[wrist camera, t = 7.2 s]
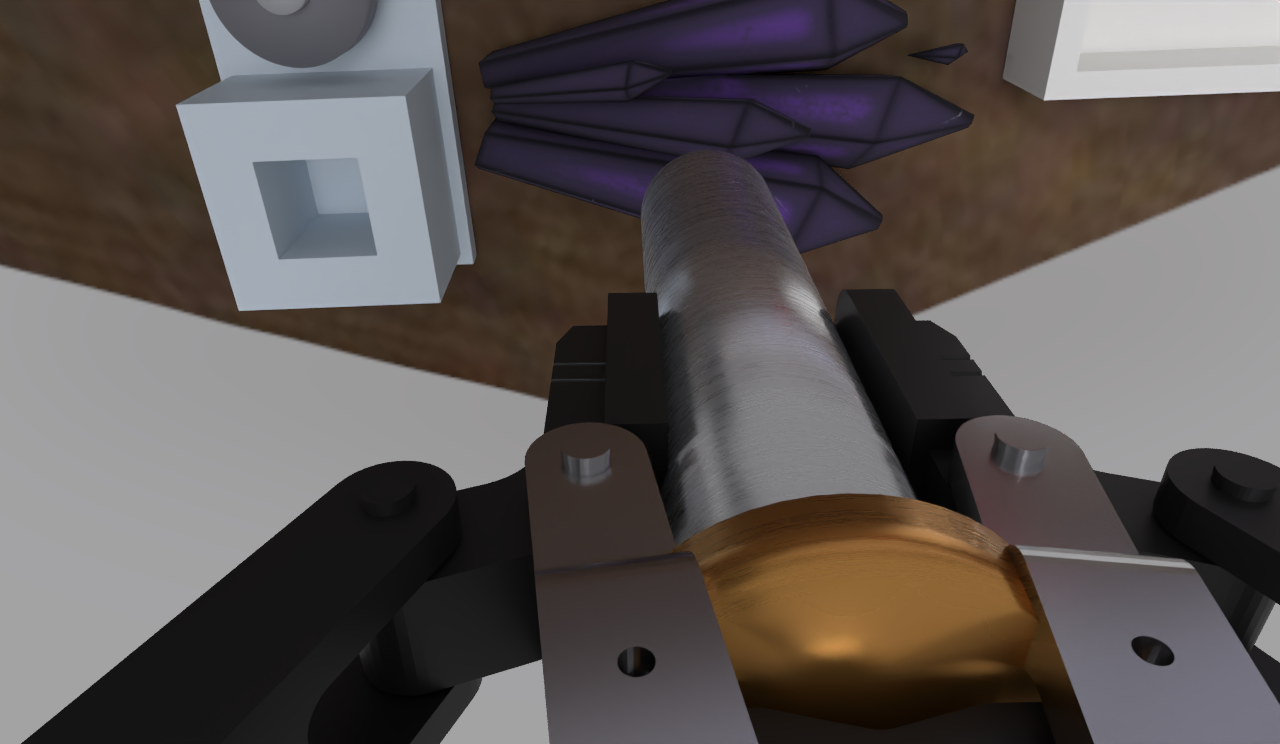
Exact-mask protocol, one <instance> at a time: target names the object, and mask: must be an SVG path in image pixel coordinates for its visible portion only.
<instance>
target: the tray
mask: <svg viewBox="0 0 1280 744" xmlns="http://www.w3.org/2000/svg"><path fill="white" fill-rule="evenodd" d="M1003 79H1004V80H1006V81H1008V82H1010V83H1012V84H1014V85H1016V86H1018V87H1020V88H1021V89H1023V90H1025V91H1027V92H1029V93H1031V94H1033V95H1035V96H1037V97H1038V98H1040V99H1042V100H1065V99H1091V98H1116V97H1142V96H1167V95H1193V94H1218V93H1244V92H1270V91H1280V0H1016V5H1015V11H1014V16H1013V22H1012V28H1011V33H1010V39H1009V44H1008V50H1007V56H1006V61H1005V67H1004V72H1003Z"/></svg>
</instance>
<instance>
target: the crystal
mask: <svg viewBox="0 0 1280 744" xmlns="http://www.w3.org/2000/svg"><path fill="white" fill-rule="evenodd" d="M907 25H908V19H907V13H906V11H904V10H903V9H901V8H899V7H898V6H896V5H895V4H893V3H891V2H890V1H888V0H668V1H665V2H661V3H658V4H655V5H651V6H648V7H644V8H641V9H637V10H634V11H630V12H627V13H624V14H620V15H617V16H613V17H610V18H606V19H603V20H599V21H596V22H593V23H589V24H586V25H582V26H579V27H575V28H572V29H569V30H565V31H562V32H558V33H555V34H551V35H548V36H544V37H541V38H538V39H534V40H531V41H527V42H524V43H520V44H517V45H513V46H510V47H507V48H503V49H500V50H496V51H493V52H491V53H490V54H489V55H488V56H486V57H485V58H484V59H483V60H482V61H480V62H479V66H480V70H481V74H482V79H483V83H484V87H485V88H491V89H492V91H491V97H490V99H491V100H492V101H493V102H494V106H493V109H492V113H493V114H494V116H495V117H496V119H495V120H494V122H493V123H492V124H491V126H490V127H489V128H488V130H487V131H486V132H485V134H484V137H483V141H482V144H481V147H480V150H479V153H478V156H477V159H476V162H475V166H477V167H478V168H479V169H482V170H486V171H489V172H492V173H495V174H498V175H502V176H505V177H508V178H511V179H515V180H518V181H521V182H524V183H528V184H531V185H534V186H537V187H540V188H544V189H547V190H550V191H553V192H557V193H560V194H563V195H566V196H569V197H573V198H576V199H579V200H582V201H586V202H589V203H592V204H595V205H599V206H602V207H605V208H608V209H611V210H615V211H618V212H621V213H624V214H628V215H631V216H634V217H637V218H640V219H641V208H642V202H643V198H644V195H645V193H646V190H647V188H648V186H649V184H650V183H651V181H652V180H653V178H654V177H655V176H656V175H657V173H658V172H659V171H660V170H661V169H662V168H663V167H665V166H666V165H667V164H668V163H670V162H671V161H673V160H674V159H676V158H678V157H680V156H682V155H685V154H688V153H691V152H695V151H700V150H719V151H724V152H728V153H731V154H734V155H736V156H739V157H741V158H743V159H744V160H746V161H747V162H748V163H750V164H751V165H752V166H753V167H754V168H755V169H756V170H757V171H758V172H759V173H760V174H761V176H762V177H763V179H764V181H765V182H766V184H767V186H768V188H769V191H770V193H771V195H772V197H773V199H774V201H775V203H776V205H777V207H778V209H779V211H780V213H781V215H782V218H783V220H784V222H785V224H786V226H787V228H788V230H789V232H790V234H791V236H792V238H793V240H794V243H795V245H796V247H797V249H798V251H799V253H800V254H801V253H804V252H807V251H810V250H813V249H817V248H820V247H823V246H826V245H829V244H832V243H835V242H838V241H842V240H845V239H848V238H851V237H854V236H857V235H860V234H863V233H867V232H870V231H873V230H876V229H878V227H879V226H880V224H881V222H882V220H883V218H882V214H881V213H880V212H879V211H877V210H876V209H875V208H874V207H873V206H872V205H871V204H870V203H869V202H868V201H867V200H866V199H865V198H863V197H862V196H861V195H860V194H859V193H858V192H857V191H856V190H855V189H854V188H853V187H852V186H850V185H849V184H848V183H847V182H846V181H845V180H844V179H843V178H842V177H841V176H840V175H839V174H838V173H836V172H835V171H834V170H833V169H832V168H831V167H830V166H832V167H839V168H846V169H850V168H853V167H856V166H859V165H862V164H865V163H868V162H870V161H873V160H876V159H879V158H882V157H885V156H888V155H891V154H893V153H896V152H899V151H902V150H905V149H908V148H911V147H914V146H916V145H919V144H922V143H925V142H928V141H931V140H934V139H937V138H940V137H942V136H945V135H948V134H951V133H954V132H957V131H960V130H963V129H965V128H968V127H969V126H970V125H971V124H972V121H973V118H974V116H975V115H973V114H971V113H969V112H967V111H965V110H964V109H962V108H960V107H958V106H956V105H954V104H952V103H950V102H948V101H946V100H944V99H943V98H941V97H939V96H937V95H935V94H933V93H931V92H929V91H927V90H925V89H923V88H922V87H920V86H918V85H916V84H914V83H912V82H910V81H908V80H906V79H904V78H902V77H899V76H889V75H811V74H770V73H786V72H802V71H818V70H827V69H829V68H830V67H832V66H834V65H836V64H838V63H840V62H842V61H844V60H846V59H847V58H849V57H851V56H853V55H855V54H857V53H859V52H861V51H863V50H864V49H866V48H868V47H870V46H872V45H874V44H876V43H878V42H880V41H881V40H883V39H885V38H887V37H889V36H891V35H893V34H895V33H897V32H898V31H900V30H902V29H904V28H906V27H907ZM966 52H968V51H967V49H966V47H965V45H964V44H958V43H956V44H952V45H948V46H944V47H939V48H935V49H931V50H927V51H922V52H918V53H914V54H910V55H908V56H912V57H917V58H921V59H925V60H929V61H933V62H937V63H942V64H946V65H949V64H950V63H952V62H953V61H955V60H956V59H958V58H959V57H961V56H962V55H964V54H965V53H966Z"/></svg>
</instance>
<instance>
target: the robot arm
mask: <svg viewBox="0 0 1280 744" xmlns="http://www.w3.org/2000/svg"><path fill="white" fill-rule="evenodd" d="M834 326H835V328H836V330H837V332H838V334H839V336H840V338H841V340H842V342H843V345H844V347H845V349H846V351H847V353H848V355H849V357H850V359H851V361H852V363H853V365H854V367H855V369H856V372H857V374H858V376H859V378H860V380H861V382H862V384H863V386H864V388H865V390H866V392H867V394H868V397H869V399H870V401H871V403H872V405H873V407H874V409H875V411H876V413H877V415H878V417H879V419H880V422H881V424H882V426H883V428H884V430H885V432H886V434H887V436H888V438H889V440H890V442H891V444H892V446H893V449H894V451H895V453H896V455H897V457H898V459H899V461H900V463H901V465H902V467H903V469H904V471H905V474H906V476H907V478H908V480H909V482H910V484H911V486H912V488H913V490H914V492H915V494H916V496H917V498H918V500H919V501H923V502H926V503H930V504H934V505H938V506H941V507H944V508H947V509H949V510H952V511H954V512H957V513H959V514H962V515H964V516H967V517H969V518H971V519H973V520H974V521H976V522H978V523H980V524H981V525H983V526H985V527H986V528H988V529H990V530H992V531H993V532H995V533H996V534H997V535H998V536H1000V537H1001V538H1002V539H1003V540H1004V541H1006V542H1007V543H1008V544H1009V545H1008V546H1006V549H1007V552H1008V554H1009V556H1010V558H1011V560H1012V562H1013V565H1014V567H1015V569H1016V571H1017V573H1018V575H1019V577H1020V580H1021V582H1022V584H1023V587H1024V589H1025V591H1026V594H1027V596H1028V598H1029V600H1030V603H1031V605H1032V607H1033V610H1034V612H1035V614H1036V617H1037V619H1038V624H1037V628H1036V631H1035V634H1034V637H1033V640H1032V643H1031V646H1030V650H1029V653H1028V656H1027V659H1026V662H1025V665H1024V668H1023V669H1024V670H1025V671H1027V672H1028V673H1029V675H1030V676H1031V677H1032V679H1033V681H1034V683H1035V685H1036V688H1037V690H1038V693H1039V696H1040V699H1041V702H1009V703H983V704H980V705H976V706H973V707H969V708H965V709H962V710H958V711H954V712H951V713H947V714H944V715H940V716H936V717H933V718H929V719H925V720H922V721H918V722H915V723H911V724H907V725H904V726H900V727H896V728H892V729H887V730H875V729H868V728H863V727H858V726H853V725H848V724H843V723H838V722H833V721H828V720H823V719H818V718H812V717H807V716H802V715H797V714H792V713H787V712H782V711H777V710H772V709H767V708H746V705H745V702H744V699H743V696H742V693H741V690H740V687H739V684H738V681H737V678H736V675H735V672H734V669H733V666H732V663H731V660H730V657H729V654H728V651H727V648H726V645H725V642H724V639H723V636H722V633H721V630H720V627H719V624H718V621H717V618H716V615H715V612H714V609H713V606H712V603H711V600H710V597H709V594H708V591H707V588H706V585H705V582H704V579H703V576H702V573H701V570H700V567H699V565H698V562H697V560H696V557H695V555H694V554H693V553H692V552H691V551H684V552H676V553H668V552H669V551H671V550H672V549H674V548H675V547H676V544H675V541H674V537H673V534H672V531H671V528H670V524H669V521H668V518H667V515H666V511H665V508H664V505H663V502H662V498H661V495H660V489H661V485H662V482H663V480H664V477H665V475H666V473H667V471H668V414H667V403H666V391H665V380H664V368H663V356H662V345H661V333H660V322H659V310H658V299H657V292H653V293H608V320H607V325H603V326H573V327H572V328H571V329H570V330H569V331H568V332H567V333H566V334H565V335H564V336H563V337H562V338H561V339H560V340H559V341H558V342H557V344H556V351H555V358H554V366H553V372H552V382H551V386H550V393H549V400H548V407H547V415H546V421H545V429H544V434H543V435H542V436H540V437H539V438H538V439H536V440H535V441H534V442H533V443H532V444H531V446H530V447H529V449H528V450H527V453H526V456H525V467H524V468H522V469H521V470H519V471H518V472H516V473H514V474H512V475H510V476H508V477H506V478H503V479H501V480H498V481H495V482H491V483H488V484H484V485H480V486H476V487H471V488H467V489H463V490H458V491H456V486H455V483H454V481H453V479H452V478H451V476H450V475H449V474H448V473H446V472H445V471H444V470H442V469H441V468H439V467H436V466H434V465H431V464H428V463H423V462H417V461H396V462H387V463H382V464H378V465H374V466H371V467H368V468H365V469H363V470H361V471H358V472H356V473H354V474H352V475H350V476H348V477H347V478H345V479H344V480H343V481H341V482H340V483H338V484H337V485H336V486H335V487H333V488H332V489H331V490H330V491H328V492H327V493H326V494H325V495H324V496H322V497H321V498H320V499H319V500H318V501H316V502H315V503H314V504H313V505H312V506H310V507H309V508H308V509H307V510H305V511H304V512H303V513H302V514H300V515H299V516H298V517H297V518H296V519H294V520H293V521H292V522H291V523H289V524H288V525H287V526H286V527H285V528H283V529H282V530H281V531H280V532H278V533H277V534H276V535H275V536H274V537H273V538H271V539H270V540H269V541H268V542H266V543H265V544H264V545H263V546H262V547H260V548H259V549H258V550H257V551H255V552H254V553H253V554H252V555H251V556H249V557H248V558H247V559H246V560H244V561H243V562H242V563H241V564H239V565H238V566H237V567H236V568H235V569H233V570H232V571H231V572H230V573H229V574H227V575H226V576H225V577H224V578H222V579H221V580H220V581H219V582H218V583H216V584H215V585H214V586H213V587H211V588H210V589H209V590H208V591H207V592H205V593H204V594H203V595H202V596H200V597H199V598H198V599H197V600H196V601H194V602H193V603H192V604H191V605H190V606H188V607H187V608H186V609H185V610H183V611H182V612H181V613H180V614H179V615H177V616H176V617H175V618H174V619H173V620H171V621H170V622H169V623H168V624H166V625H165V626H164V627H163V628H161V629H160V630H159V631H158V632H157V633H155V634H154V635H153V636H152V637H150V638H149V639H148V640H147V641H146V642H144V643H143V644H142V645H141V646H140V647H138V648H137V649H136V650H135V651H133V652H132V653H131V654H130V655H129V656H127V657H126V658H125V659H124V660H123V661H121V662H120V663H119V664H118V665H117V666H115V667H114V668H113V669H111V670H110V671H109V672H108V673H107V674H105V675H104V676H103V677H102V678H100V679H99V680H98V681H97V682H96V683H94V684H93V685H92V686H91V687H90V688H88V689H87V690H86V691H85V692H84V693H82V694H81V695H80V696H79V697H77V698H76V699H75V700H74V701H72V703H70V704H69V705H68V706H66V707H65V708H64V709H63V710H61V711H60V712H59V713H58V714H57V715H55V716H54V717H53V718H52V719H51V720H49V721H48V722H47V723H46V724H44V725H43V726H42V727H41V728H40V729H38V730H37V731H36V732H35V733H33V734H32V735H31V736H30V737H29V738H27V739H26V740H25V741H24V742H22V743H21V744H440V742H441V741H442V740H443V738H444V737H445V736H446V734H447V733H448V731H449V730H450V729H451V728H452V726H453V725H454V724H455V722H456V721H457V719H458V718H459V717H460V715H461V714H462V713H463V711H464V710H465V708H466V707H467V706H468V704H469V703H470V702H471V700H472V699H473V698H474V696H475V694H476V693H477V691H478V689H479V687H480V684H481V681H482V677H485V676H488V675H492V674H495V673H498V672H502V671H505V670H508V669H512V668H515V667H518V666H522V665H525V664H528V663H532V662H535V661H538V660H541V659H542V663H543V674H544V684H545V696H546V708H547V719H548V730H549V741H550V744H1280V663H1279V662H1278V661H1276V660H1275V659H1273V658H1272V657H1271V656H1269V655H1268V654H1266V653H1265V652H1263V651H1262V650H1261V649H1259V648H1258V647H1256V646H1255V645H1254V644H1255V642H1256V640H1257V638H1258V636H1259V634H1260V632H1261V630H1262V628H1263V626H1264V624H1265V622H1266V620H1267V618H1268V616H1269V614H1270V613H1271V610H1272V609H1273V607H1274V605H1275V603H1278V604H1279V605H1280V468H1279V467H1277V466H1275V465H1273V464H1271V463H1269V462H1266V461H1263V460H1260V459H1258V458H1255V457H1252V456H1249V455H1245V454H1242V453H1237V452H1233V451H1228V450H1221V449H1211V448H1200V449H1199V448H1198V449H1190V450H1185V451H1182V452H1179V453H1177V454H1176V455H1174V456H1173V457H1172V458H1171V459H1170V460H1169V462H1168V464H1167V467H1166V470H1165V472H1164V475H1163V478H1162V481H1161V482H1156V481H1150V480H1144V479H1138V478H1133V477H1126V476H1121V475H1115V474H1109V473H1104V472H1099V471H1095V470H1093V469H1092V467H1091V465H1090V464H1089V462H1088V460H1087V458H1086V456H1085V454H1084V453H1083V451H1082V450H1081V448H1080V447H1079V446H1078V445H1077V444H1076V443H1075V442H1074V441H1073V440H1072V439H1070V438H1069V437H1068V436H1066V435H1065V434H1063V433H1061V432H1060V431H1058V430H1056V429H1054V428H1052V427H1050V426H1048V425H1045V424H1042V423H1039V422H1037V421H1033V420H1029V419H1026V418H1020V417H1015V416H1014V415H1013V413H1012V412H1011V410H1010V409H1009V408H1008V406H1007V405H1006V404H1005V403H1004V401H1003V400H1002V398H1001V397H1000V396H999V394H998V393H997V392H996V390H995V389H994V388H993V386H992V385H991V383H990V382H989V381H988V380H987V378H986V377H985V376H982V371H981V370H980V368H979V367H978V366H977V364H976V363H975V362H974V360H970V355H969V353H968V352H967V351H966V349H965V348H964V347H963V345H962V344H961V343H960V341H959V340H958V339H957V338H956V336H954V335H953V334H951V333H949V332H948V331H946V330H944V329H943V328H941V327H940V326H938V325H936V324H935V323H933V322H931V321H916V320H915V319H914V317H913V316H912V314H911V313H910V311H909V310H908V308H907V307H906V305H905V304H904V302H903V301H902V299H901V298H900V297H899V295H898V294H897V292H896V291H895V290H894V289H860V290H842V291H841V293H840V295H839V298H838V301H837V307H836V315H835V323H834ZM666 553H668V554H666Z"/></svg>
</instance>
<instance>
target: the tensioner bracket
mask: <svg viewBox="0 0 1280 744" xmlns="http://www.w3.org/2000/svg"><path fill="white" fill-rule="evenodd" d="M199 2H200V6H201V9H202V13H203V17H204V20H205V24H206V28H207V31H208V35H209V38H210V42H211V46H212V49H213V53H214V57H215V60H216V64H217V67H218V71H219V75H220V78H221V82H219V83H217V84H215V85H213V86H211V87H209V88H207V89H205V90H203V91H201V92H199V93H198V94H196V95H194V96H192V97H190V98H188V99H186V100H184V101H182V102H180V103H178V104H176V107H177V110H178V114H179V117H180V120H181V124H182V127H183V130H184V133H185V137H186V140H187V143H188V146H189V150H190V153H191V156H192V159H193V163H194V166H195V169H196V172H197V176H198V179H199V182H200V185H201V189H202V192H203V195H204V199H205V202H206V205H207V208H208V212H209V215H210V218H211V221H212V225H213V228H214V231H215V234H216V238H217V241H218V244H219V247H220V251H221V254H222V257H223V260H224V264H225V267H226V270H227V274H228V277H229V280H230V283H231V287H232V290H233V293H234V296H235V300H236V303H237V306H238V309H239V311H246V310H272V309H297V308H322V307H347V306H372V305H398V304H423V303H441V300H442V298H443V296H444V293H445V291H446V288H447V286H448V284H449V281H450V279H451V276H452V274H453V271H454V269H455V267H456V265H459V264H474V261H475V258H476V256H477V254H476V247H475V240H474V233H473V226H472V219H471V212H470V205H469V198H468V191H467V184H466V177H465V170H464V163H463V156H462V148H461V141H460V134H459V127H458V120H457V113H456V106H455V99H454V92H453V85H452V78H451V71H450V64H449V57H448V50H447V42H446V35H445V28H444V21H443V14H442V7H441V0H199Z"/></svg>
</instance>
